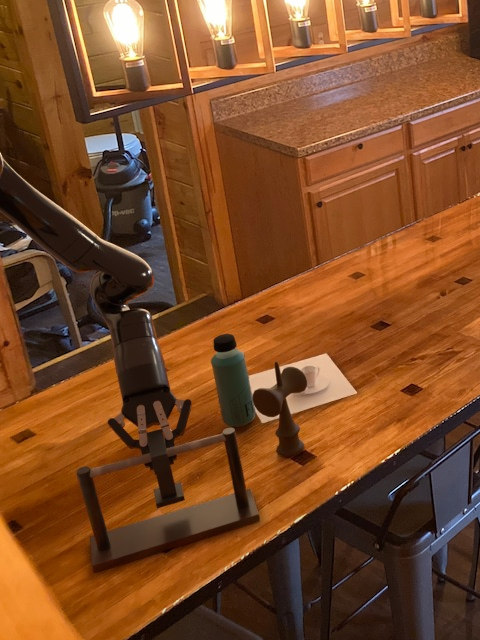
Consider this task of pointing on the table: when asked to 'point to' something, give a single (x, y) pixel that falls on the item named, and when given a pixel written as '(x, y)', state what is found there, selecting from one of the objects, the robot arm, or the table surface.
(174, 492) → the hook hanger
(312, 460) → the table surface
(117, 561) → the rail stand
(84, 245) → the robot arm
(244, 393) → the beverage bottle
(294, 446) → the kendama
